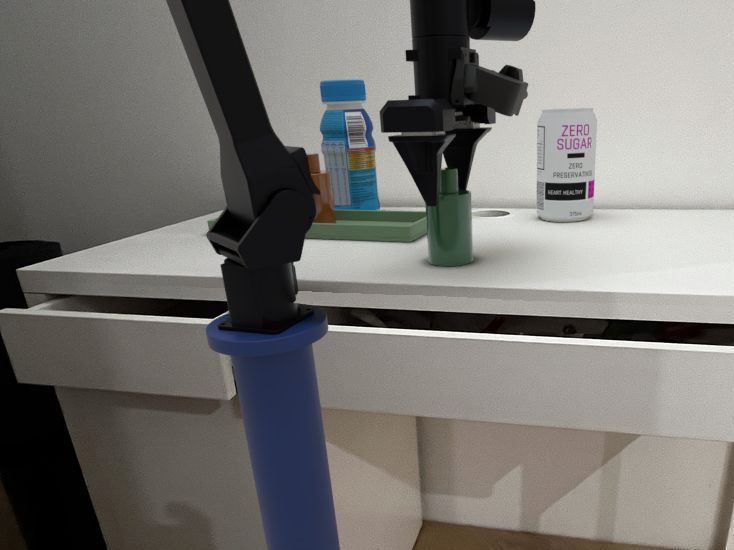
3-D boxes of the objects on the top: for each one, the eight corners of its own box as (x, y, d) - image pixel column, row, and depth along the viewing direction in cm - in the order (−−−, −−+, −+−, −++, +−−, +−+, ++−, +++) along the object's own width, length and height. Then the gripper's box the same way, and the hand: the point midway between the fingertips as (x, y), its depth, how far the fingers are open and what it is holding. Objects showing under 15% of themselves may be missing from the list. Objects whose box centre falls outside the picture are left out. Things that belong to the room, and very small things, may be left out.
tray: (410, 242, 80) (409, 226, 79) (209, 234, 89) (206, 220, 88) (440, 225, 89) (440, 211, 89) (256, 220, 99) (254, 207, 98)
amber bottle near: (325, 230, 86) (316, 155, 83) (294, 229, 88) (284, 155, 84) (343, 223, 91) (335, 152, 87) (313, 222, 92) (304, 152, 88)
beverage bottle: (321, 218, 98) (304, 80, 90) (338, 209, 106) (324, 81, 98) (373, 218, 97) (361, 78, 89) (386, 209, 104) (376, 79, 97)
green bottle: (465, 267, 67) (461, 171, 63) (422, 265, 68) (416, 171, 64) (478, 256, 71) (476, 165, 67) (437, 254, 73) (433, 166, 69)
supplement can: (562, 211, 97) (564, 108, 92) (604, 217, 91) (609, 107, 86) (525, 218, 92) (525, 110, 87) (566, 225, 86) (570, 110, 81)
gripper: (494, 23, 51) (496, 216, 56) (540, 40, 67) (538, 188, 73) (370, 32, 54) (384, 213, 60) (443, 46, 70) (449, 187, 76)
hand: (447, 199), depth 67 cm, fingers open, 9 cm apart
